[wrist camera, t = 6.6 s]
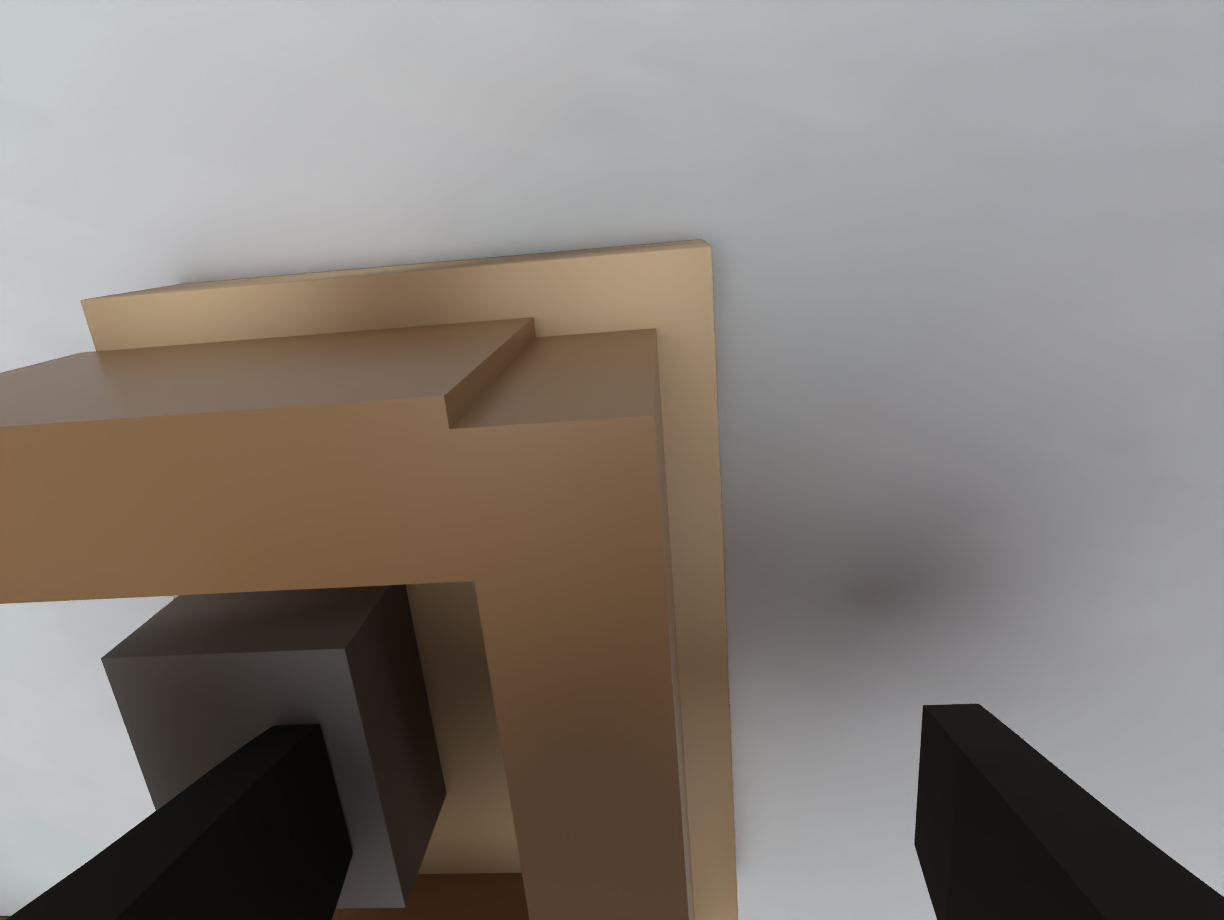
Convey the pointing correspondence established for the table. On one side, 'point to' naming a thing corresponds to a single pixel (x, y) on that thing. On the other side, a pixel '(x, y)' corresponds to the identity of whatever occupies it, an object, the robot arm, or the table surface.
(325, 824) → the robot arm
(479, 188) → the table surface
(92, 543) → the wooden c-shaped bracket
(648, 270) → the display stand
